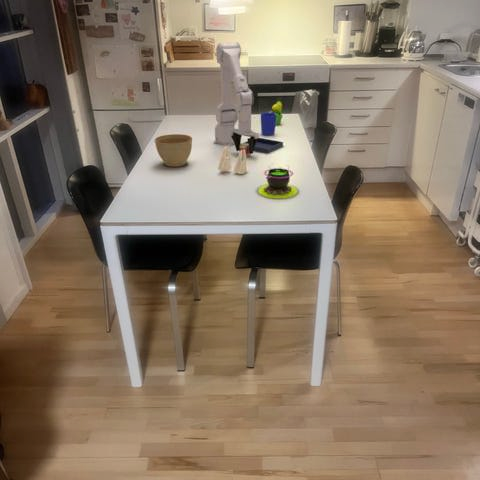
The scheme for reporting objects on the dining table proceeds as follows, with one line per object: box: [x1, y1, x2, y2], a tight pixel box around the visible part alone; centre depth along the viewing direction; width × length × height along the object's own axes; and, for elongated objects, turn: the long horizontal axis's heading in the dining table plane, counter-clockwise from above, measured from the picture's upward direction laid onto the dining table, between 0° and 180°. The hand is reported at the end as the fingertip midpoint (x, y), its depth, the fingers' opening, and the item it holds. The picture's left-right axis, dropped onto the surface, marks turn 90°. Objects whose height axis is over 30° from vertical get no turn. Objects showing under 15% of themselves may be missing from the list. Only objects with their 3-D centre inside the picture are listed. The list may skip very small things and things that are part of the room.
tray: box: [243, 137, 284, 154], centre depth 230 cm, size 15×14×2 cm
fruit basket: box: [263, 100, 283, 126], centre depth 267 cm, size 11×9×11 cm
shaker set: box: [217, 145, 248, 175], centre depth 198 cm, size 12×4×11 cm, turn 81°
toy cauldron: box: [258, 163, 298, 200], centre depth 180 cm, size 15×15×11 cm
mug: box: [260, 112, 277, 137], centre depth 249 cm, size 8×12×10 cm
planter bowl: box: [154, 133, 193, 168], centre depth 208 cm, size 16×16×11 cm
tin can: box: [239, 142, 251, 158], centre depth 219 cm, size 5×5×5 cm
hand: (244, 152), depth 219 cm, fingers open, 7 cm apart
